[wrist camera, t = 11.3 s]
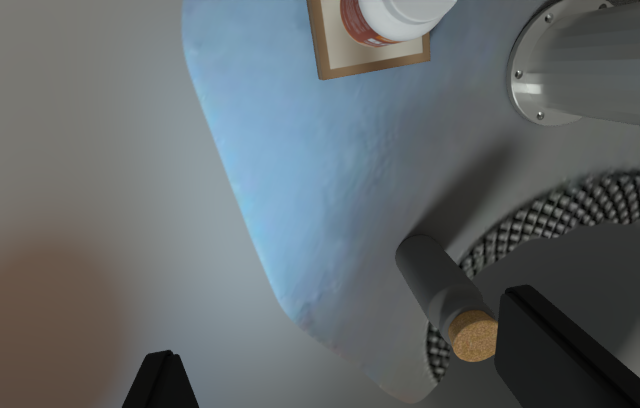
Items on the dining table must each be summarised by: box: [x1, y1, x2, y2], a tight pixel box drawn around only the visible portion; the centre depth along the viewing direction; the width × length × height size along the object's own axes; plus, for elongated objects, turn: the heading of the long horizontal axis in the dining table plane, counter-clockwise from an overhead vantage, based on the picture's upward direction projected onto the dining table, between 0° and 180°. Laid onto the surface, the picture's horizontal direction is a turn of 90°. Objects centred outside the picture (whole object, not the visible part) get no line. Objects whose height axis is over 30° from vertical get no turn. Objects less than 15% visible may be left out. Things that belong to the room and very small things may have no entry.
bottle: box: [395, 235, 498, 362], centre depth 36 cm, size 6×6×15 cm
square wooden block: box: [306, 0, 430, 80], centre depth 30 cm, size 10×10×4 cm
